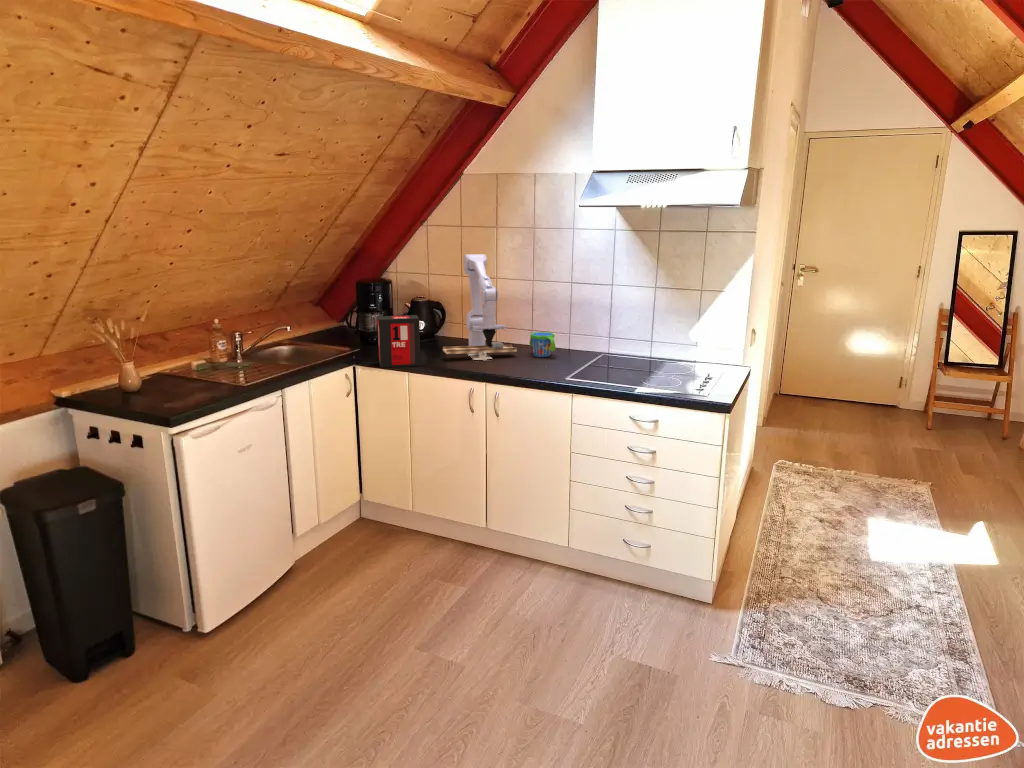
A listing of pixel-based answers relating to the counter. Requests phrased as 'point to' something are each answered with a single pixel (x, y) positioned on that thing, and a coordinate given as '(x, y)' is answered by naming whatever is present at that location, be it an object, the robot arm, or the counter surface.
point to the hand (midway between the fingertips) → (489, 346)
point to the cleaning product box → (399, 340)
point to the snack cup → (542, 343)
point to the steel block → (496, 345)
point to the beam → (477, 349)
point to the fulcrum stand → (479, 356)
